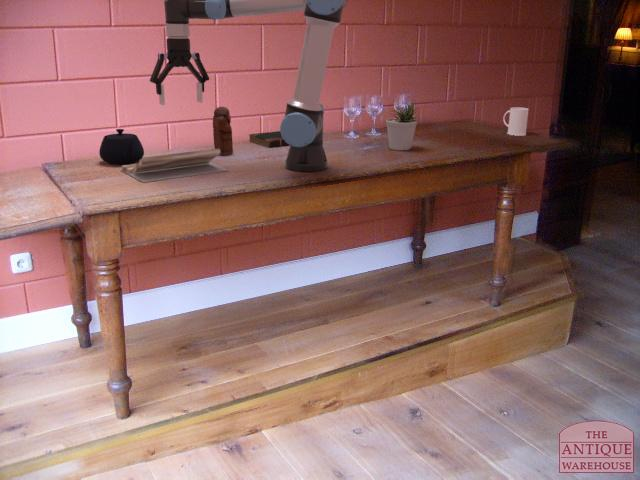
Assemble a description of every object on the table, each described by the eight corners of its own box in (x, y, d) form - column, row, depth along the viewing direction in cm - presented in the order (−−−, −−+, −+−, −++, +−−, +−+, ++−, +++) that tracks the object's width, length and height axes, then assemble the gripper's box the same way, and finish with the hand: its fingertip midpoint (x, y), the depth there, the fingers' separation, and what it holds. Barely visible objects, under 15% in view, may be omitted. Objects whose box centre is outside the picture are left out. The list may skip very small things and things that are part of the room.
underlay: (228, 170, 230) (228, 169, 230) (143, 183, 213) (143, 181, 212) (201, 160, 245) (201, 159, 245) (120, 171, 228) (120, 169, 228)
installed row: (209, 163, 240) (209, 159, 239) (129, 173, 223) (129, 169, 222) (200, 159, 245) (200, 155, 244) (122, 169, 228) (121, 165, 227)
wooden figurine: (236, 155, 255) (234, 108, 249) (220, 156, 253) (218, 109, 247) (227, 149, 265) (225, 104, 259) (211, 150, 263) (209, 105, 257)
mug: (497, 133, 311) (500, 107, 307) (508, 131, 316) (510, 105, 312) (519, 136, 302) (522, 110, 298) (529, 134, 308) (532, 108, 304)
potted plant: (402, 153, 263) (405, 102, 256) (378, 148, 273) (380, 99, 266) (423, 149, 270) (427, 100, 264) (399, 144, 280) (402, 96, 274)
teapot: (92, 159, 246) (88, 126, 242) (132, 154, 254) (130, 122, 250) (112, 172, 226) (109, 136, 222) (156, 167, 234) (154, 132, 230)
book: (296, 137, 297) (248, 142, 283) (296, 129, 295) (248, 134, 282) (319, 143, 283) (269, 149, 269) (319, 135, 282) (269, 140, 268)
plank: (220, 152, 229) (219, 148, 229) (143, 162, 213) (142, 157, 213) (208, 163, 238) (207, 159, 238) (133, 172, 222) (132, 168, 222)
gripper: (207, 36, 225) (210, 99, 232) (137, 37, 212) (141, 104, 219) (217, 37, 220) (219, 102, 227) (145, 38, 206) (150, 106, 213)
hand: (181, 103), depth 223 cm, fingers open, 13 cm apart
